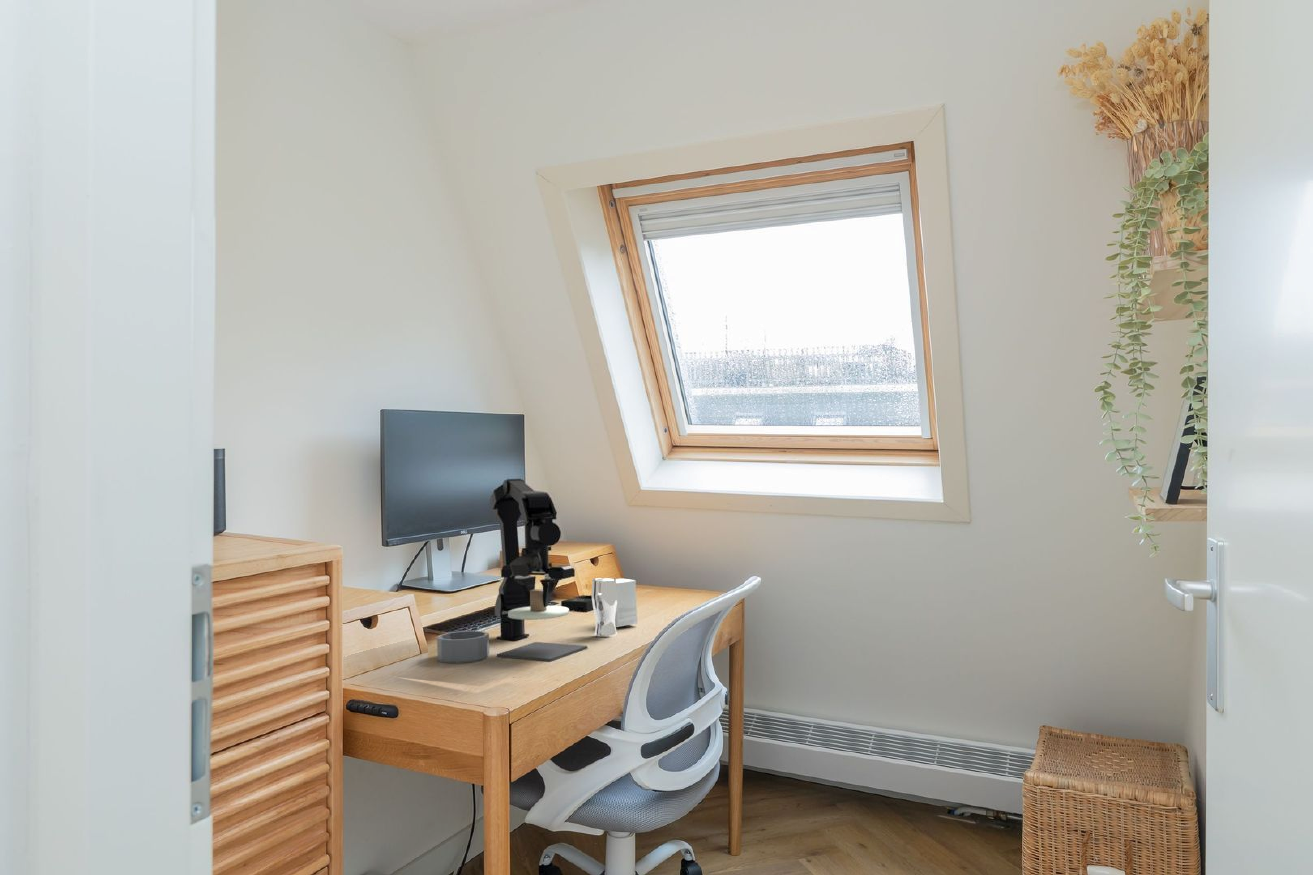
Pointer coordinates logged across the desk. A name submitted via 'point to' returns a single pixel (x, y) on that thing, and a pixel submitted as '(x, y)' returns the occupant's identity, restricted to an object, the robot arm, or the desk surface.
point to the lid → (537, 609)
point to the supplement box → (626, 603)
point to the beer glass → (604, 606)
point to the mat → (542, 651)
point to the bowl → (463, 646)
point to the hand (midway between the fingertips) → (538, 606)
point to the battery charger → (579, 603)
